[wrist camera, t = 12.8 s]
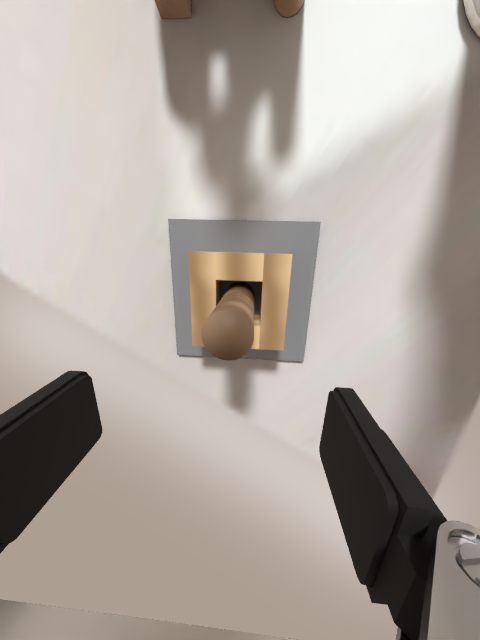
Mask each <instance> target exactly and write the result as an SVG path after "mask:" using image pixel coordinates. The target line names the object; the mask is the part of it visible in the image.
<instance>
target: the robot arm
mask: <svg viewBox="0 0 480 640" xmlns="http://www.w3.org/2000/svg"><path fill="white" fill-rule="evenodd" d="M463 1H464V6H465V11H466V16H467V18H468V20H469V22H470V25H471V27H472V28H473V30H474V31H475V32H476V34H477V35H478V36H479V37H480V0H463ZM101 434H102V426H101V421H100V416H99V411H98V407H97V402H96V397H95V392H94V387H93V383H92V378H91V377H90V376H89V375H88V374H87V372H82V371H68V372H66V373H64V374H63V375H61V376H60V377H58V378H57V379H56V380H54V381H52V382H51V383H49V384H47V385H46V386H44V387H43V388H41V389H40V390H38V391H37V392H35V393H33V394H32V395H30V396H29V397H27V398H26V399H24V400H23V401H21V402H20V403H18V404H17V405H15V406H13V407H12V408H10V409H9V410H7V411H6V412H4V413H3V414H1V415H0V553H1V552H2V551H3V550H4V548H5V547H6V546H7V545H8V544H9V543H11V542H12V541H14V540H15V539H16V538H17V537H18V536H19V535H20V534H21V533H22V531H23V530H24V529H25V528H26V526H27V525H28V524H29V523H30V522H31V521H32V519H33V518H34V517H35V515H37V513H38V512H39V511H40V510H41V509H42V507H43V506H44V505H45V504H46V503H47V501H48V500H49V499H50V498H51V497H52V495H53V494H54V493H55V492H56V490H57V489H58V488H59V487H60V486H61V484H62V483H63V482H64V481H65V479H66V478H67V477H68V476H69V475H70V474H71V472H72V471H73V470H74V469H75V468H76V466H77V465H78V464H79V463H80V462H81V460H82V459H83V458H84V457H85V456H86V454H87V453H88V452H89V451H90V450H91V448H92V447H93V446H94V445H95V443H96V442H97V441H98V440H99V438H100V437H101ZM320 457H321V460H322V464H323V467H324V470H325V473H326V477H327V480H328V483H329V486H330V490H331V493H332V496H333V499H334V503H335V506H336V509H337V513H338V516H339V519H340V522H341V526H342V529H343V532H344V535H345V539H346V542H347V545H348V548H349V552H350V555H351V558H352V561H353V565H354V568H355V571H356V574H357V577H358V579H359V581H360V583H361V584H363V585H366V586H367V589H368V592H369V595H370V599H371V602H372V603H379V604H387V605H388V607H389V610H390V612H391V615H392V618H393V621H394V623H395V624H396V625H397V626H398V629H397V635H396V640H480V530H479V529H477V528H475V527H473V526H471V525H469V524H465V523H462V522H459V521H447V520H446V518H445V517H444V515H443V514H442V513H441V511H440V510H439V508H438V507H437V505H436V504H435V503H434V501H433V500H432V498H431V497H430V495H429V494H428V493H427V491H426V490H425V488H424V487H423V485H422V484H421V483H420V481H419V480H418V478H417V477H416V475H415V474H414V473H413V471H412V470H411V468H410V467H409V465H408V464H407V463H406V461H405V460H404V458H403V457H402V456H401V454H400V453H399V451H398V450H397V448H396V447H395V446H394V444H393V443H392V441H391V440H390V438H389V437H388V436H387V434H386V433H385V432H384V431H383V430H382V429H380V427H379V426H378V424H377V423H376V422H375V420H374V419H373V417H372V416H371V414H370V413H369V411H368V410H367V409H366V407H365V406H364V404H363V403H362V401H361V400H360V398H359V397H358V395H357V394H356V393H355V391H354V390H353V389H352V388H339V387H336V388H335V389H334V391H330V392H329V395H328V401H327V407H326V413H325V418H324V424H323V430H322V435H321V441H320ZM0 640H295V639H290V638H283V637H276V636H269V635H261V634H254V633H247V632H240V631H232V630H225V629H218V628H211V627H204V626H196V625H189V624H182V623H174V622H167V621H160V620H153V619H145V618H138V617H130V616H122V615H115V614H107V613H100V612H92V611H85V610H76V609H69V608H61V607H54V606H46V605H39V604H31V603H23V602H15V601H8V600H0Z"/></svg>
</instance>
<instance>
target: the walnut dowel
mask: <svg viewBox="0 0 480 640" xmlns="http://www.w3.org/2000/svg"><path fill="white" fill-rule="evenodd" d="M201 337H202V342H203V344H204V346H205V348H206V349H207V351H208V352H209V353H210V354H212V355H213V356H215V357H217V358H219V359H222V360H235V359H238V358H241V357H243V356H244V355H245V354H246V353H248V351H249V350H250V349H251V347H252V345H253V341H254V291H253V289H252V287H251V286H250V285H249V284H247V283H244V282H237V283H234V284H233V285H231V286H230V288H229V289H228V290H227V292H226V293H225V295H224V296H223V297H222V299H221V300H220V302H219V303H218V304H217V306H216V307H215V309H214V310H213V312H212V313H211V314H210V316H209V317H208V319H207V320H206V321H205V323H204V325H203V327H202V332H201Z"/></svg>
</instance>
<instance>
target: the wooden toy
mask: <svg viewBox="0 0 480 640" xmlns="http://www.w3.org/2000/svg"><path fill="white" fill-rule="evenodd" d="M155 2H156V5H157V7H158V10H159V12H160V15H161V17H162V19H171V18H191V0H155ZM303 2H304V0H274V3H275V6H276V9H277V11H278V12H279V14H281V15H282V16H284V17H291V16H293V15H295V14H296V13H297V12H298V11H299V10H300V8H301V7H302V5H303Z"/></svg>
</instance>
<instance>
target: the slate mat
mask: <svg viewBox="0 0 480 640" xmlns="http://www.w3.org/2000/svg"><path fill="white" fill-rule="evenodd" d="M168 222H169V237H170V252H171V267H172V282H173V297H174V312H175V328H176V343H177V355H190V356H209V357H215V356H213V355H212V354H210V353H209V352H208V351H207V349H206V348H205V347H203V346H192V324H191V300H190V277H189V254H188V251H207V252H244V253H281V254H292V265H291V276H290V287H289V297H288V308H287V319H286V330H285V341H284V351H282V350H263V349H250V350H249V351H248V353H246V354H245V355H244V356H243V357H241V358H247V359H266V360H284V361H303V360H304V352H305V344H306V336H307V328H308V320H309V312H310V304H311V296H312V288H313V279H314V271H315V263H316V255H317V247H318V239H319V231H320V223H321V222H292V221H239V220H187V219H168ZM237 282H244V283H247V284H249V285H250V286H251V287H252V289H253V291H254V315H259V314H260V295H261V281H233V280H222V297H223V296H224V295H225V293H226V292H227V290H228V289H229V288H230V286H231V285H233V284H234V283H237Z"/></svg>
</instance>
